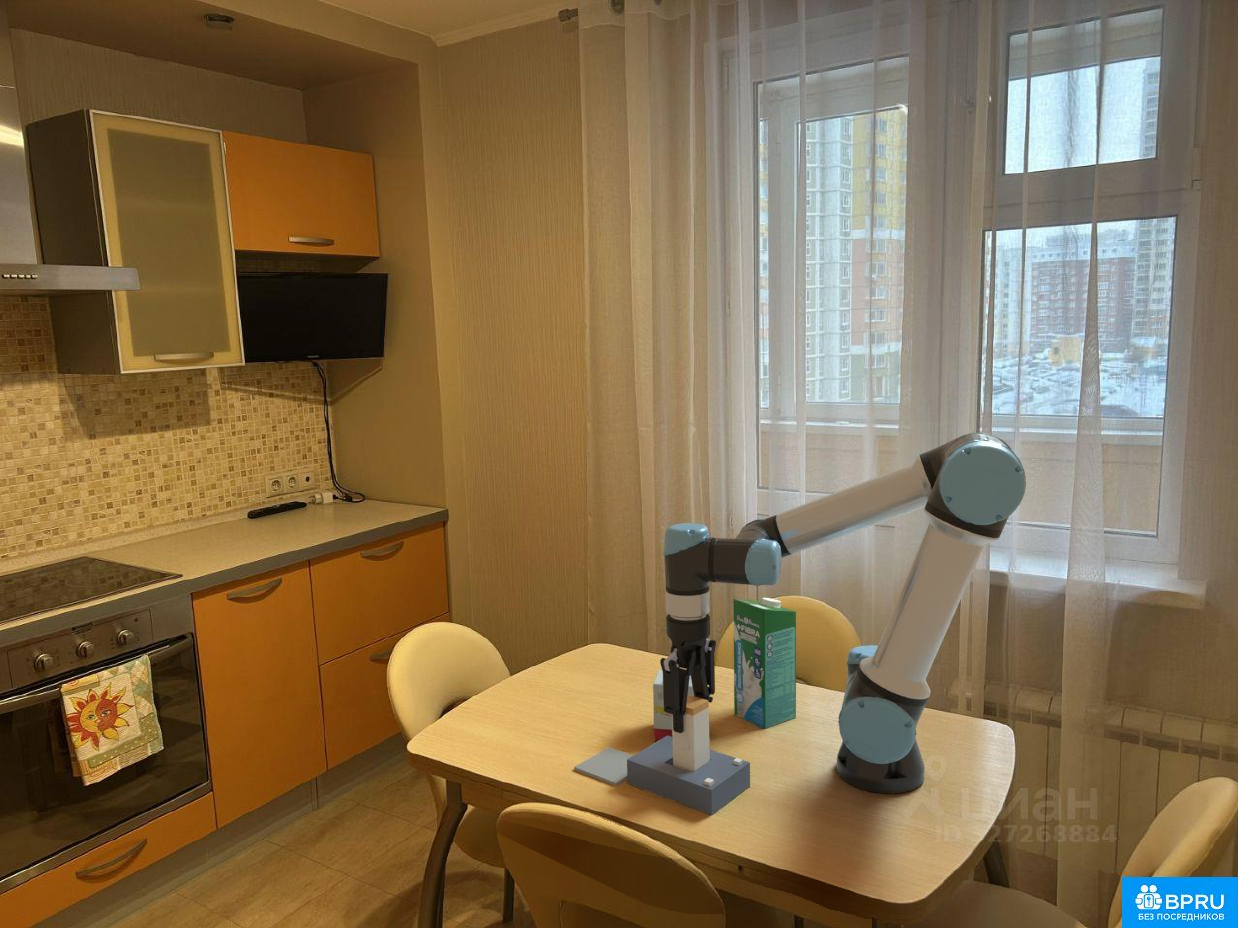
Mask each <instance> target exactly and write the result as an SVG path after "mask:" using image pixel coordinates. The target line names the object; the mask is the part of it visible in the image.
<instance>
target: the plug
mask: <svg viewBox="0 0 1238 928" xmlns="http://www.w3.org/2000/svg"><path fill="white" fill-rule="evenodd" d="M709 704H710V702H709V701H708V700H705V699H702V698H698V697H694V696H691V695H688V696H687V705H686V713H689V738H690V749H689V750H688V751H686V750H683V749H680V748H677V747H675V745H674V730H673V715H672V737H673V766H675V767H678V768H681V769H684V770H687V771H689V772H694V771H695V770H697V769H698V768H700V767H701V766H703V765H704V764H706V763H707V762H709V761H710V750H711V749H710V714H709V713H710V709H709V708H710V707H709Z"/></svg>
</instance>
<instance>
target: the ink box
mask: <svg viewBox="0 0 1238 928" xmlns="http://www.w3.org/2000/svg"><path fill="white" fill-rule="evenodd" d="M654 678H655V679H654V681H653V683H652V689H653V690H652V692H653V698H652V699H653V701H652V702H653V704H652V705H653V740H654V741H656V742H657V741H659V740H661V739H662V738H664V737H666V736H670V737H672V714H669V713H666V712H664V698H663V671H662V668H659V670H658V671H657V675H656V677H654ZM688 695H691V696H694V692H693V686H692V681H691V675H690V678H689V687H688Z"/></svg>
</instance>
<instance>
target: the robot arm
mask: <svg viewBox="0 0 1238 928" xmlns="http://www.w3.org/2000/svg"><path fill="white" fill-rule="evenodd" d="M1026 487H1027V481H1026V472H1025V468H1024V467H1023V464H1022V462H1021V459H1020V458H1019V457H1018V456H1017V454H1016V453H1015V452H1014V451H1013V450H1012V448H1011V446H1010V445H1008V444H1007V443H1006V442H1005V441H1004V440H1003V439H1001V438H999V436H996V435H993V434H991V433H987V432H980V431H979V432H971V433H966V434H962V435H961V436H957V437H956V438H954V439H952V440H949V441H948V442H946V443H944V444H942V445H939V446H937V447H935V448H932V449H930V450H928V451H925V452H922V453H920V454H917V456H916V457H915V460H914V462H913V463H911V464H908V465H905V466H903V467H901V468H898V469H895V470H892V471H889V472H886V473H885V474H881V475H879V476H876V477H874V478H871V479H867V480H866V481H862V482H861V483H858V484H854V485H853V486H849V487H847V488H844V489H841V490H838V491H836V492H834V493H831V494H828V495H825V496H822V497H819V498H817V499H815V500H812V501H809V502H807V503H803V504H801V505H799V506H796V507H793V508H791V509H788V510H785V511H783V512H779V513H777V514H774V515H773V516H769V517H767V518H757V519H754V520H752V521H749V522H747V523H745V525H744V526H743V527H742V528H741V530H740V531H739V533H738V534H737V535H736V537H735V538H729V537H727V538H724V537H722V538H721V537H714V536H713V537H711V536H710V533H709V529H708V527H707V526H706V525H704V524H703V523H702V524H701V523H695V522H682V523H676V524H672V525H669V527H667V529H665V532H664V549H663V556H664V557H663V558H664V559H663V560H664V578H665V579H664V581H665V611H666V613H667V615H666V617H665V622H666V623H665V624H666V627H665V628H666V629H665V630H666V635H667V637H668V638H669V639H670V641H671V647H670V652H669V653H670V654H669V655H668V656H667V657H666V658H665V657H661V659H660V661H659V663H660V668H661V669H662V671H663V698H664V712H666V713H669V714H672V715H673V730H674V745H675V747H677V748H680V749H683V750H686V751H688V750H689V749H690V738H689V713H686V705H687V696H688V687H689V678H690V675H691V681H692V686H693V692H694V697H698V698H702V699H705V700H708V701H709V704H710V703H711V704H712V702H713V700H714V697H712V696H711V695H713V696H714V694H715V692H716V674H715V673H716V672H715V668H716V667H715V663H716V661H715V653H716V646H717V641H716V640H715V639H711V638H709V637H710V635H711V616H710V614H709V613H710V612H711V601H710V600H711V597H710V595H711V594H710V583H718V584H719V583H720V584H731V585H733V584H734V585H737V584H738V585H752V586H754V587H760V586H775V585H776V584H777V583H778V582H779V581H780V576H781V572H782V559H783V558H785V557H788V556H791V555H793V554H796V553H799V552H801V551H802V552H803V551H804V550H806V549H811V548H812V547H816V546H817V545H818V546H819V545H821V544H824V543H827V542H831V541H833V540H836V539H838V538H842V537H844V536H847V535H850V534H853V533H855V532H859V531H862V530H864V529H867V528H870V527H873V526H875V525H878V524H881V523H884V522H887V521H890V520H892V519H895V518H898V517H900V516H903V515H907V514H910V513H912V512H913V513H914V512H915V511H918V510H920V509H923V508H924V509H923V510H924V514H925V515H926V518H927V520H928V526H927V528H926V530H925V532H924V535H923V537H922V540H921V542H920V544H919V547H918V549H917V552H916V554H915V556H914V559H913V561H912V563H911V566H910V568H909V571H908V574H907V575H906V577H905V580H904V581H903V582H904V583H903V585H902V588H901V590H900V592H899V594H898V596H897V599H896V602H895V604H894V606H893V609H892V612H891V613H890V616H889V618H888V620H887V623H886V626H885V629H884V630H883V633H882V635H881V637H880V640H879V642H878V645H872V644H871V645H859V646H856V647H855V646H854V647H853V648H852V649H850V650H849V651H848V654H847V661H846V665H847V678H846V679H847V681H846V686H845V692H844V695H843V699H842V703H841V709H840V711H839V713H838V717H837V718H838V726H839V727H838V728H839V733H840V737H841V740H842V741H841V745H840V747H839V750H838V752H837V756H836V772H837V775H838V776H839V777H840V778H841V779H842V780H843V781H845V782H846V783H848V784H849V785H851V786H853V787H855V788H858V789H860V790H864V791H869V792H873V793H878V794H899V793H900V794H901V793H907V792H911V791H913V790H915V789H917V788H918V787H920V786H921V785H923V783H924V781H925V763H924V760H923V757H922V753H921V751H920V748H919V745H918V741H917V739H916V738H917V727H918V726H917V725H918V723H919V722H920V721H919V720H920V719H921V717H922V714H923V712H924V710H925V707H926V706H927V702H928V700H929V698H930V696H931V688H930V687H929V685H928V682H927V677H928V675H929V672H930V670H931V668H932V666H933V663H934V661H935V659H936V656H937V654H938V652H939V649H940V647H941V645H942V642H943V641H944V638H945V636H946V635H947V631H948V629H949V627H950V624H951V622H952V620H953V618H954V616H955V613H956V611H957V608H958V607H959V603H960V601H961V600H962V597H963V595H964V593H965V590H966V588H967V586H968V584H969V581H970V579H971V577H972V574H973V572H974V570H975V568H976V565H977V563H978V561H979V559H980V557H981V553H982V551H983V549H984V547H985V546H986V545H987V544H989V543H992V542H995V541H998V540H1000V537H1001V535H1002V533H1003V530H1004V529H1005V526H1006V524H1007V522H1008V520H1009V517H1010V516H1011V515H1012V514H1013V513H1014V512H1015V511H1017V508H1018V507H1020V505H1021V503H1022V501H1023V499H1024V495H1025V493H1026Z"/></svg>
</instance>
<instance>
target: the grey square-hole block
mask: <svg viewBox="0 0 1238 928" xmlns="http://www.w3.org/2000/svg"><path fill="white" fill-rule="evenodd" d="M626 782H627V784H629V785H631V786H633V787H636V788H639V789H641V790H645V791H647V792H649V793H652V794H654V795H657V796H660V797H663V798H665V799H668V800H670V801H672V802H676V803H678V804H681V805H682V806H683V805H684V806H687V807H689V808H691V809H694V810H697V811H699V812H701V813H705V814H707V815H709V816H713V815H714V814H716V813H717V812H718V811H720V810H722V809H723V808H724V807H725V806H726V805H728V804H729V803H730V802H732V801H733V800H735V798H737V797H738V796H739V795H740V796H741V794H742V793H744V792H745V791H746V790H748V789H749V788H750V787H751V762H749V761H747V760H744V759H741V758H739V757H734V756H731V755H728V754H725V753H722V752H719V751H716V750H714V749H710V761H709V762H707V763H706V764H704V765H703V766H701V767H700V768H698V769H697V770H695V771H694V772H689V771H687V770H684V769H681V768H678V767H675V766H673V737H670V736H666V737H664V738H662V739H661V740H659V741H656V742H655V741H654V743H652V744H650V745H649V746H647V747H645V748H644V749H642V750H640V751H639V752H637V753H636V754H634V755H633V756H632V757H630V758H629V759H627V780H626Z"/></svg>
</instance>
